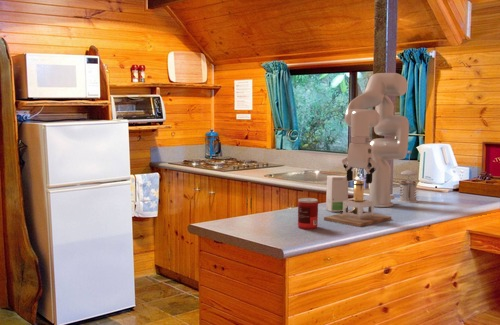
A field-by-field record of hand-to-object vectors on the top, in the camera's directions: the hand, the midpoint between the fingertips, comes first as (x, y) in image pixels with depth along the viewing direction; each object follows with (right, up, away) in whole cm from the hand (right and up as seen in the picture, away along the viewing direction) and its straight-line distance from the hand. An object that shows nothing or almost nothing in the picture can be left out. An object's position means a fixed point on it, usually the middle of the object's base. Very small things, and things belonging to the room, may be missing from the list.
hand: (359, 181), depth 248 cm
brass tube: (0, -15, +1) cm, 15 cm away
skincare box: (-6, -14, +22) cm, 27 cm away
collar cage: (0, -15, +1) cm, 15 cm away
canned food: (-23, -17, -14) cm, 32 cm away
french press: (+33, -11, +48) cm, 59 cm away
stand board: (0, -16, +1) cm, 16 cm away
